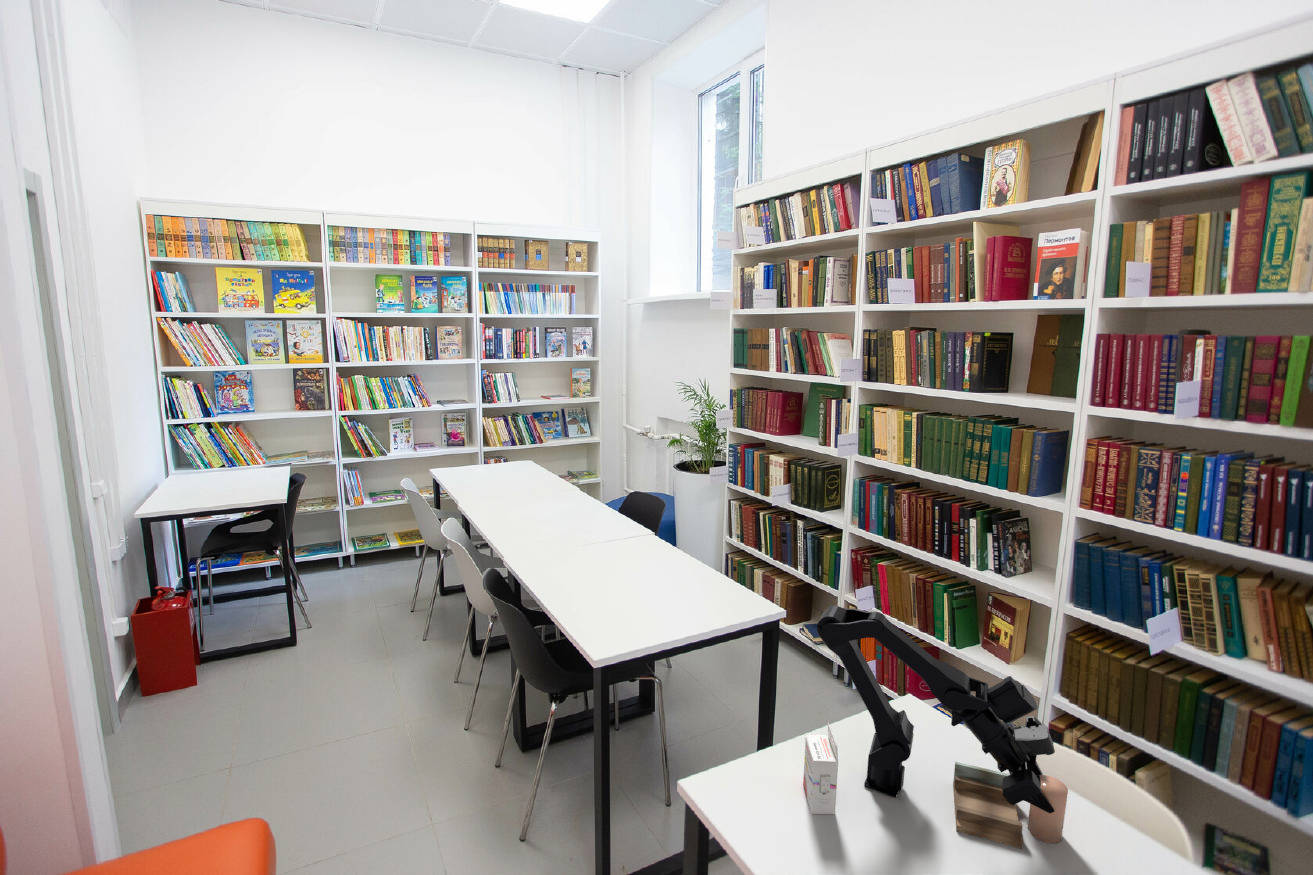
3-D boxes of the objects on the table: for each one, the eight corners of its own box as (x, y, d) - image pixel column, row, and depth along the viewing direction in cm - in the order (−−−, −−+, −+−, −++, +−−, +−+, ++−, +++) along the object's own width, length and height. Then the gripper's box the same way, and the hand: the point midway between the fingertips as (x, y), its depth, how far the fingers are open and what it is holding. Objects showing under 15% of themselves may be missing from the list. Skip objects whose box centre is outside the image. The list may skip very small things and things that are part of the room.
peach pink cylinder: (1026, 835, 122) (1032, 787, 121) (1028, 816, 127) (1033, 770, 125) (1061, 848, 119) (1068, 799, 118) (1061, 828, 124) (1068, 781, 123)
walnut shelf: (956, 830, 123) (958, 806, 122) (953, 783, 136) (955, 761, 135) (1021, 848, 119) (1025, 823, 118) (1012, 798, 132) (1015, 775, 131)
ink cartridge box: (801, 784, 135) (805, 719, 133) (825, 785, 135) (829, 720, 133) (810, 814, 127) (814, 746, 124) (835, 815, 127) (840, 747, 124)
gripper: (1031, 740, 113) (1099, 817, 110) (1024, 688, 130) (1083, 754, 127) (977, 767, 118) (1040, 842, 115) (977, 713, 135) (1032, 778, 132)
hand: (1050, 801), depth 122 cm, fingers closed on peach pink cylinder, 6 cm apart
